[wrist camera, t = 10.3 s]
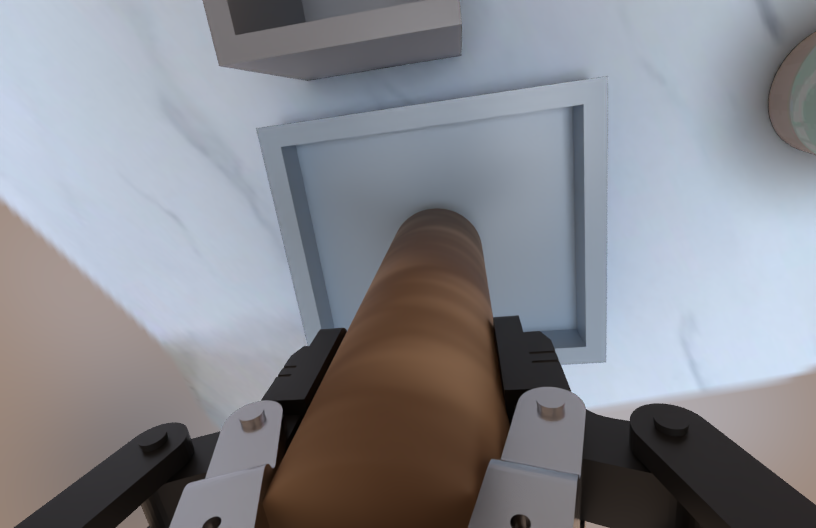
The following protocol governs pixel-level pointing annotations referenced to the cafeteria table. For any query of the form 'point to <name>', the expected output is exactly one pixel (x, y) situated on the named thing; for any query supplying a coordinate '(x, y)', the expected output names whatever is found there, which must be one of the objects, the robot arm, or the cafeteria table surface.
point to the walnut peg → (403, 395)
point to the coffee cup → (796, 97)
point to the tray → (456, 202)
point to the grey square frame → (331, 34)
